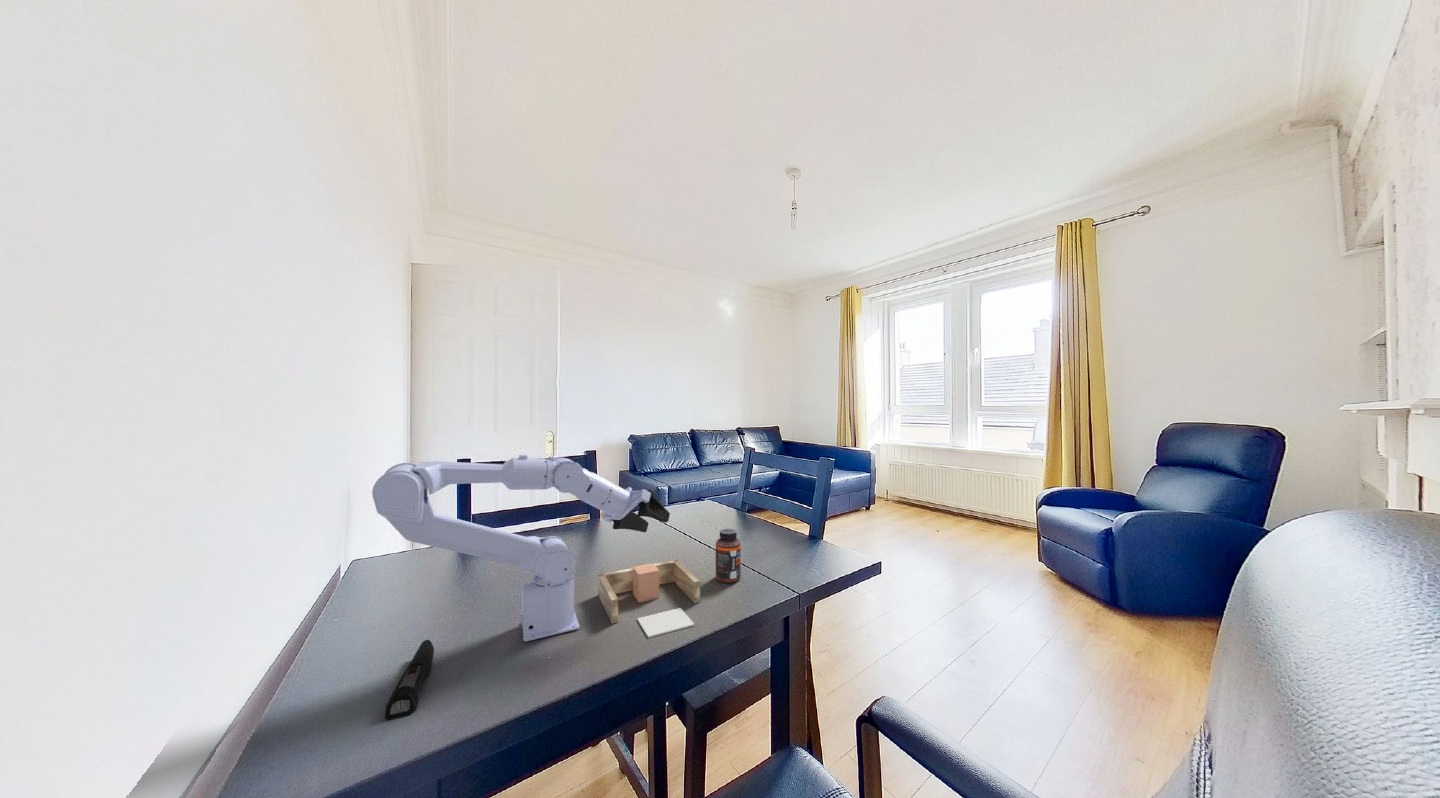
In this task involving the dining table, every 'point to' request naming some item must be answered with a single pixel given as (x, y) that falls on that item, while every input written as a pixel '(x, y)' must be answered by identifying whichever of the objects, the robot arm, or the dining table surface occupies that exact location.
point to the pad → (665, 622)
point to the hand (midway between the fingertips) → (657, 522)
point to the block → (645, 582)
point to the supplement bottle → (728, 556)
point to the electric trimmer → (410, 683)
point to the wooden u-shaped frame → (624, 582)
